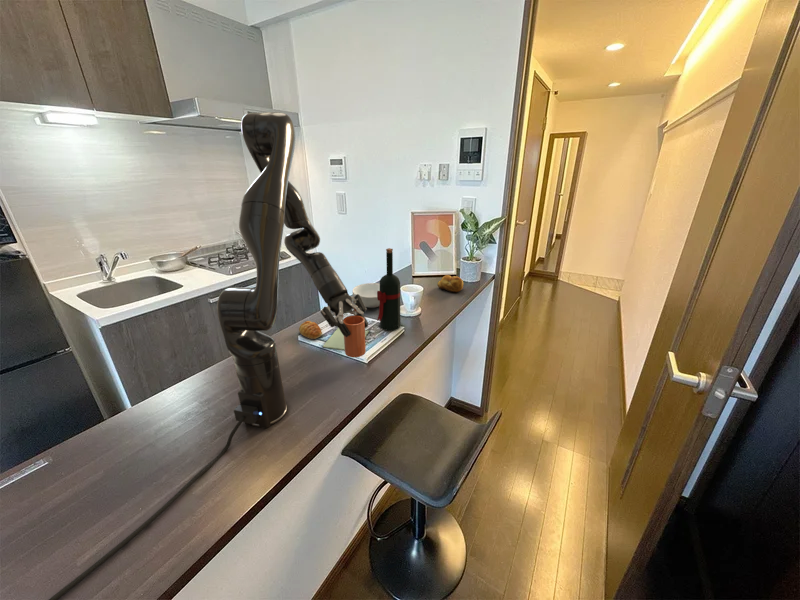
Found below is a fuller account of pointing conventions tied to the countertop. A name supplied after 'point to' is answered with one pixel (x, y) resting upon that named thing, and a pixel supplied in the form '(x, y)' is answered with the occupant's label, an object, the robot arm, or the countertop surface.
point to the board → (337, 340)
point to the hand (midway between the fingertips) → (357, 331)
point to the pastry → (310, 330)
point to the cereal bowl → (368, 294)
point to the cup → (355, 336)
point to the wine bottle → (389, 297)
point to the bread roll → (451, 283)
